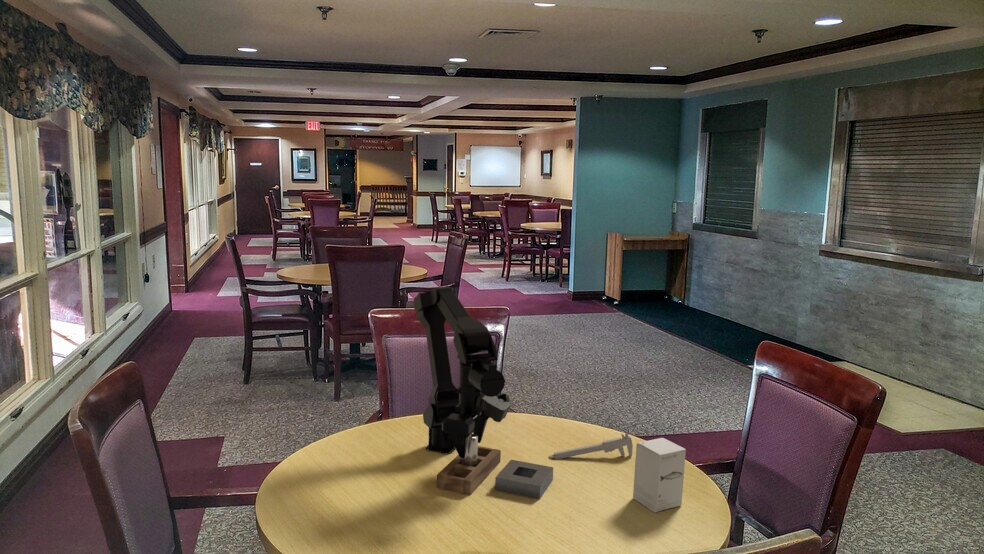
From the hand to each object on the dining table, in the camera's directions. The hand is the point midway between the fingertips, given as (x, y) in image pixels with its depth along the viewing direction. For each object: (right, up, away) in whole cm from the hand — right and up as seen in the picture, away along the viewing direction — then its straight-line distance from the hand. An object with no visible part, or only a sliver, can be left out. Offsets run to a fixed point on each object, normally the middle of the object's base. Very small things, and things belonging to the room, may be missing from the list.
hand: (470, 449), depth 153 cm
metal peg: (0, -6, +1) cm, 6 cm away
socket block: (+12, -7, -4) cm, 14 cm away
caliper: (+29, -5, +12) cm, 32 cm away
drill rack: (0, -6, +1) cm, 6 cm away
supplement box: (+39, -9, -10) cm, 42 cm away
